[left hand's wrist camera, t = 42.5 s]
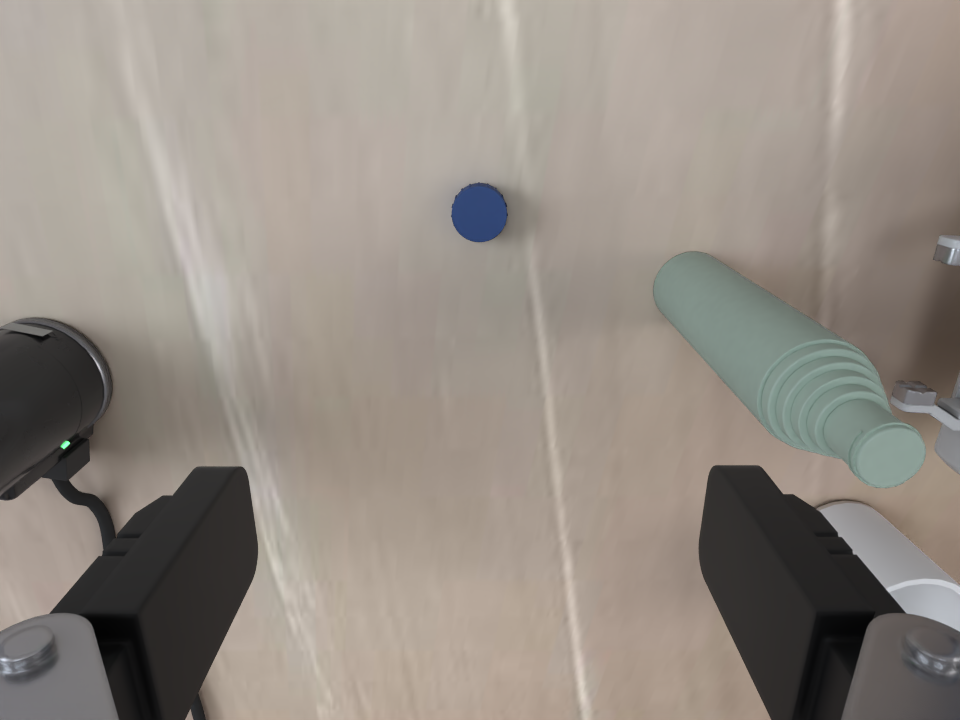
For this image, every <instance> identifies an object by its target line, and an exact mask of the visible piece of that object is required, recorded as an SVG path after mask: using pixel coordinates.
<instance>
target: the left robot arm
mask: <svg viewBox="0 0 960 720" xmlns="http://www.w3.org/2000/svg"><path fill="white" fill-rule="evenodd" d="M111 394H112V382H111V376H110V373H109V369H108V367H107V365H106V363H105V361H104V359H103V357H102V356H101V354H100V353H99V351H98V350H97V349H96V347H95V346H94V345H93V344H92V343H91V342H90V341H89V340H88V339H87V338H85V337H84V336H83V335H82V334H80V333H79V332H77V331H76V330H74V329H72V328H71V327H69V326H67V325H64V324H62V323H59V322H56V321H53V320H49V319H43V318H26V319H20V320H17V321H14V322H11V323H9V324H7V325H4V326H2V327H0V500H13V499H15V498H17V497H18V496H19V495H20V494H22V493H23V492H24V491H25V490H26V489H28V488H29V487H30V486H31V485H32V484H34V483H35V482H36V481H37V480H38V479H40V478H41V477H42V478H49V479H52V481H53V483H54V484H55V486H56V488H57V489H58V491H59V492H60V493H61V495H62V496H63V497H64V498H66V499H67V500H68V501H69V502H71V503H73V504H77V505H83V506H87V507H89V508H90V510H91V511H92V512H93V513H94V515H95V516H96V518H97V521H98V523H99V526H100V531H101V536H102V542H103V549H104V550H103V554H102V556H98V557H97V559H96V560H95V561H94V562H93V563H92V564H91V566H90V567H89V568H88V569H87V570H86V572H85V573H84V574H83V575H82V576H81V577H80V579H79V580H78V581H77V582H76V583H75V584H74V586H73V587H72V588H71V589H70V590H69V591H68V593H67V594H66V595H65V596H64V597H63V598H62V600H61V601H60V602H59V603H58V604H57V605H56V607H55V608H54V609H53V610H52V611H51V612H50V614H46V615H42V616H37V617H34V618H31V619H27V620H24V621H22V622H19V623H17V624H15V625H12V626H10V627H8V628H6V629H4V630H2V631H1V632H0V720H185V719H186V717H187V714H188V712H189V710H190V709H191V712H192V715H193V719H194V720H206V719H205V715H204V711H203V707H202V704H201V700H200V697H199V694H198V692H199V690H200V688H201V686H202V683H203V681H204V679H205V677H206V675H207V673H208V671H209V669H210V667H211V665H212V663H213V661H214V659H215V657H216V655H217V653H218V650H219V648H220V646H221V644H222V642H223V640H224V638H225V636H226V634H227V632H228V630H229V628H230V626H231V624H232V622H233V619H234V617H235V615H236V613H237V611H238V609H239V607H240V605H241V603H242V601H243V599H244V597H245V595H246V593H247V591H248V588H249V586H250V584H251V582H252V580H253V577H254V574H255V571H256V566H257V558H258V542H257V534H256V527H255V521H254V514H253V507H252V500H251V493H250V486H249V480H248V475H247V472H246V470H245V469H244V468H243V467H196V468H195V469H194V470H193V471H192V472H191V473H190V474H189V476H188V477H187V478H186V479H185V481H184V482H183V483H182V484H181V486H180V487H179V488H178V489H177V491H176V492H175V493H174V494H173V496H161V497H160V498H158V499H157V500H155V501H154V502H152V503H151V504H149V505H147V506H146V507H144V508H143V509H141V510H140V511H138V512H137V513H135V514H134V515H133V517H132V518H131V519H130V520H129V521H128V522H127V524H126V525H125V526H124V527H123V528H122V529H121V531H120V532H119V533H118V534H117V535H118V536H117V538H116V537H115V531H114V526H113V522H112V519H111V517H110V514H109V512H108V510H107V509H106V507H105V505H104V504H103V503H102V501H101V500H100V499H99V498H98V497H97V496H95V495H92V494H88V493H82V492H80V491H78V490H77V489H76V488H75V487H74V486H73V485H72V484H71V483H70V481H69V479H70V478H71V477H72V476H74V475H75V474H76V473H77V472H78V471H79V470H80V469H81V468H82V467H84V466H85V465H86V464H87V463H88V462H89V461H90V453H89V439H87V438H89V437H90V436H91V435H92V434H93V424H94V423H95V422H96V421H97V420H98V419H99V418H100V417H101V416H102V415H103V414H104V412H105V411H106V409H107V407H108V405H109V403H110V399H111ZM699 560H700V566H701V571H702V574H703V577H704V580H705V582H706V584H707V586H708V588H709V590H710V592H711V594H712V596H713V599H714V601H715V603H716V605H717V607H718V609H719V611H720V613H721V615H722V617H723V619H724V622H725V624H726V626H727V628H728V630H729V632H730V634H731V636H732V638H733V640H734V642H735V645H736V647H737V649H738V651H739V653H740V655H741V657H742V659H743V661H744V663H745V665H746V668H747V670H748V672H749V674H750V676H751V678H752V680H753V682H754V684H755V686H756V688H757V691H758V693H759V695H760V697H761V699H762V701H763V703H764V705H765V707H766V709H767V711H768V714H769V716H770V718H771V720H960V632H959V631H958V630H956V629H954V628H952V627H950V626H948V625H945V624H943V623H941V622H938V621H936V620H933V619H929V618H926V617H923V616H918V615H914V614H907V613H906V612H905V611H904V610H903V609H902V608H901V606H900V605H899V604H898V603H897V602H896V600H895V599H894V598H893V597H892V596H891V595H890V593H889V592H888V591H887V590H886V589H885V587H884V586H883V585H882V584H881V583H880V582H879V580H878V579H877V578H876V577H875V576H874V575H873V573H872V572H871V571H870V570H869V569H868V567H867V566H866V565H865V564H864V563H863V562H862V560H861V559H860V558H859V557H858V556H857V555H853V550H852V549H851V547H850V546H849V545H848V544H847V543H846V541H845V540H844V539H843V538H842V537H838V532H837V531H836V530H835V529H834V527H833V526H832V525H831V524H830V523H829V521H828V520H827V519H826V518H825V517H824V516H823V514H822V513H821V512H820V511H818V510H817V509H815V508H814V507H812V506H810V505H809V504H807V503H806V502H804V501H803V500H801V499H800V498H798V497H797V496H795V495H793V494H783V493H782V492H781V491H780V490H779V488H778V487H777V486H776V485H775V483H774V482H773V481H772V480H771V478H770V477H769V476H768V474H767V473H766V472H765V471H764V469H763V468H762V467H760V466H757V465H716V466H713V467H712V468H711V470H710V472H709V476H708V482H707V489H706V496H705V503H704V510H703V517H702V524H701V531H700V538H699Z"/></svg>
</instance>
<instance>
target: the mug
mask: <svg viewBox="0 0 960 720" xmlns="http://www.w3.org/2000/svg"><path fill="white" fill-rule="evenodd" d="M816 509H817V510H818V511H820V512H821V513H822V514H823V516H824V517H825V518H826V519H827V520H828V521H829V523H830V524H831V525H832V526H833V527H834V529H835V530H836V531H837V532H838V537H842V538H843V539H844V540H845V541H846V543H847V544H848V545H849V546H850V547H851V549H852V550H853V555H857V556H858V557H859V558H860V559H861V560H862V562H863V563H864V564H865V565H866V566H867V567H868V569H869V570H870V571H871V572H872V573H873V575H874V576H875V577H876V578H877V579H878V580H879V582H880V583H881V584H882V585H883V586H884V587H885V589H886V590H887V591H888V592H889V593H890V595H891V596H892V597H893V598H894V599H895V600H896V602H897V603H898V604H899V605H900V606H901V608H902V609H903V610H904V611H905V612H906V613H907V614H914V615H918V616H923V617H926V618H929V619H933V620H936V621H938V622H941V623H943V624H945V625H948V626H950V627H952V628H954V629H956V630H958V631H959V632H960V585H959V584H958V583H957V582H956V581H955V580H953V579H952V578H951V577H950V576H949V575H948V574H947V573H946V572H945V571H943V570H942V569H941V568H940V567H939V566H938V565H937V564H936V563H935V562H933V561H932V560H931V559H930V558H929V557H928V556H927V555H926V554H924V553H923V552H922V551H921V550H920V549H919V548H918V547H917V546H916V545H914V544H913V543H912V542H911V541H910V540H909V539H908V538H907V537H906V536H904V535H903V534H902V533H901V532H900V531H899V530H898V529H897V528H896V527H894V526H893V525H892V524H891V523H890V522H889V521H888V520H887V519H885V518H884V517H883V516H882V515H881V514H880V513H879V512H878V511H876V510H875V509H873V508H872V507H871V506H869V505H866V504H863V503H860V502H855V501H837V502H831V503H828V504H825V505H823V506H820V507H818V508H816Z"/></svg>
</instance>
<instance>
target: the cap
mask: <svg viewBox="0 0 960 720" xmlns="http://www.w3.org/2000/svg"><path fill="white" fill-rule="evenodd" d="M506 207H507V205H506V203H505V201H504V199H503V195H501V194H500V192H499V191H498V190H497V188H494V187H492V186H490V185H489V184H484V183H480V182H478V183H475V184H469V186H467V187H465V188H464V189H463V188H462V189H461V191H460V192H459V194H458V195H456V197H455V201H454V204H452V215H451V217H452V220H453V224H454V226H455V228H456V230H457V231H458V232H459V234H461V235H462V236H463V237H464V238H466V239H468V240H470V241H474V242H485V241H489V240H491V239H493V238H495V237H496V236H497V235H498V234H499V233H500V232H501V231H502V229H503V228H504V226H505V223H506V219H507V216H508V214H507V209H506Z"/></svg>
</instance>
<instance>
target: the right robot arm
mask: <svg viewBox="0 0 960 720" xmlns="http://www.w3.org/2000/svg"><path fill="white" fill-rule="evenodd" d="M933 260H935V261H941V263H944V264H948V265H956V266H960V236H954V235H940V236H939V240H938V243H937V247H936V250H935V254H934V257H933ZM936 395H937V392H936V391H934V390H933V389H931V388H927V386H926V385H925V384H923V383H921V382H920V381H909V382H907V383H906V382H904V381H896V383H895V386H894V389H893V393H892V397H891V400H890V403H891V404H893V405H894V406H895V407H897V408H898V409H900V410H902V411H905V412H911V413H928V414H930V415H931V416H932V417H934V418H935V419H937V420H938V421H940V422H941V423H942V426H941V428H940V431H939V434H938V437H937V440H936V443H935V447H934V449H935V452H936V453H937V455H938V456H939V457H940V458H941V459H942V460H943V461H944V462H945V463H946V464H947V465H948V466H949V467H950V468H952V469H953V470H954V471H955V472H957V473H958V474H959V475H960V372H959V375H958V378H957V381H956V384H955V387H954V390H953V393H952V396H951V398H940V399H939V400H938V403H937V405H938V406H936V405H935V404H934V402H935V399H936Z"/></svg>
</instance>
